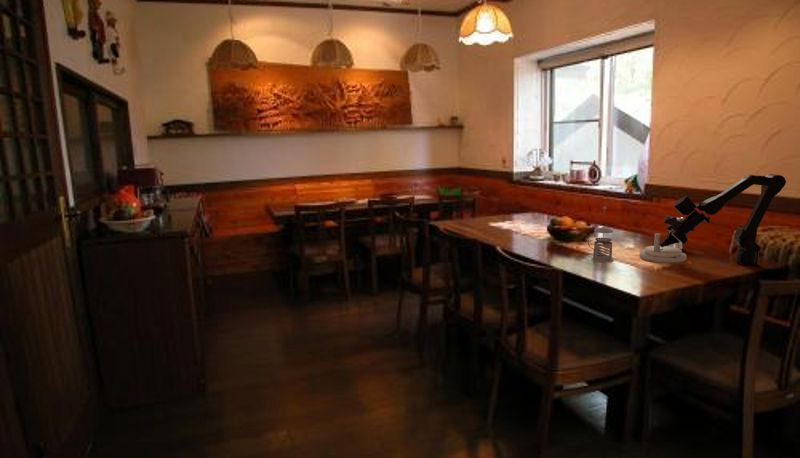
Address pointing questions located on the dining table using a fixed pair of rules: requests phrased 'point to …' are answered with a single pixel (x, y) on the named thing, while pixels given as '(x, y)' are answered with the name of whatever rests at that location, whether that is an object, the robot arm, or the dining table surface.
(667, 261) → the base
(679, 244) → the beer glass
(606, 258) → the french press
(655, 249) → the dial
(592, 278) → the dining table surface
